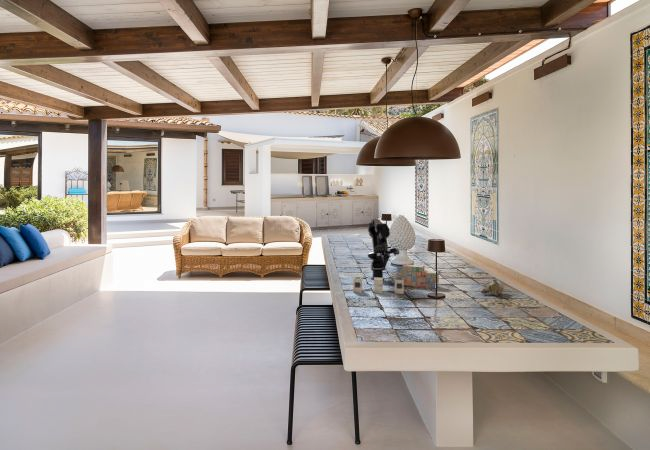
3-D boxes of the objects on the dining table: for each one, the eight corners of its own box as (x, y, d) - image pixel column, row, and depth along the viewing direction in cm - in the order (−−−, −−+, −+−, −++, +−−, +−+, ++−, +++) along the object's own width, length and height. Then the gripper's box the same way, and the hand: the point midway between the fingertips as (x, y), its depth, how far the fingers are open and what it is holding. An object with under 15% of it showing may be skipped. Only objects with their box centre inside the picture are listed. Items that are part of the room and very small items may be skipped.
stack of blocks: (438, 286, 296) (439, 266, 295) (435, 288, 291) (436, 268, 290) (405, 283, 307) (405, 263, 305) (401, 284, 301) (402, 265, 300)
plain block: (373, 291, 284) (374, 277, 283) (382, 291, 284) (382, 277, 283) (373, 293, 279) (374, 279, 279) (382, 293, 279) (382, 279, 278)
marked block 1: (353, 290, 285) (353, 276, 285) (361, 290, 285) (362, 277, 284) (353, 292, 280) (353, 278, 279) (361, 292, 280) (361, 278, 279)
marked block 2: (394, 291, 283) (394, 277, 282) (403, 291, 283) (403, 277, 282) (394, 293, 278) (395, 279, 277) (403, 293, 277) (403, 279, 277)
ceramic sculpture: (508, 278, 278) (497, 284, 267) (508, 293, 279) (497, 299, 268) (490, 276, 285) (479, 281, 274) (490, 290, 286) (479, 296, 275)
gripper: (363, 242, 297) (365, 266, 291) (391, 236, 288) (393, 261, 283) (370, 246, 306) (372, 270, 301) (398, 241, 297) (400, 265, 292)
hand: (384, 267), depth 294 cm, fingers closed
